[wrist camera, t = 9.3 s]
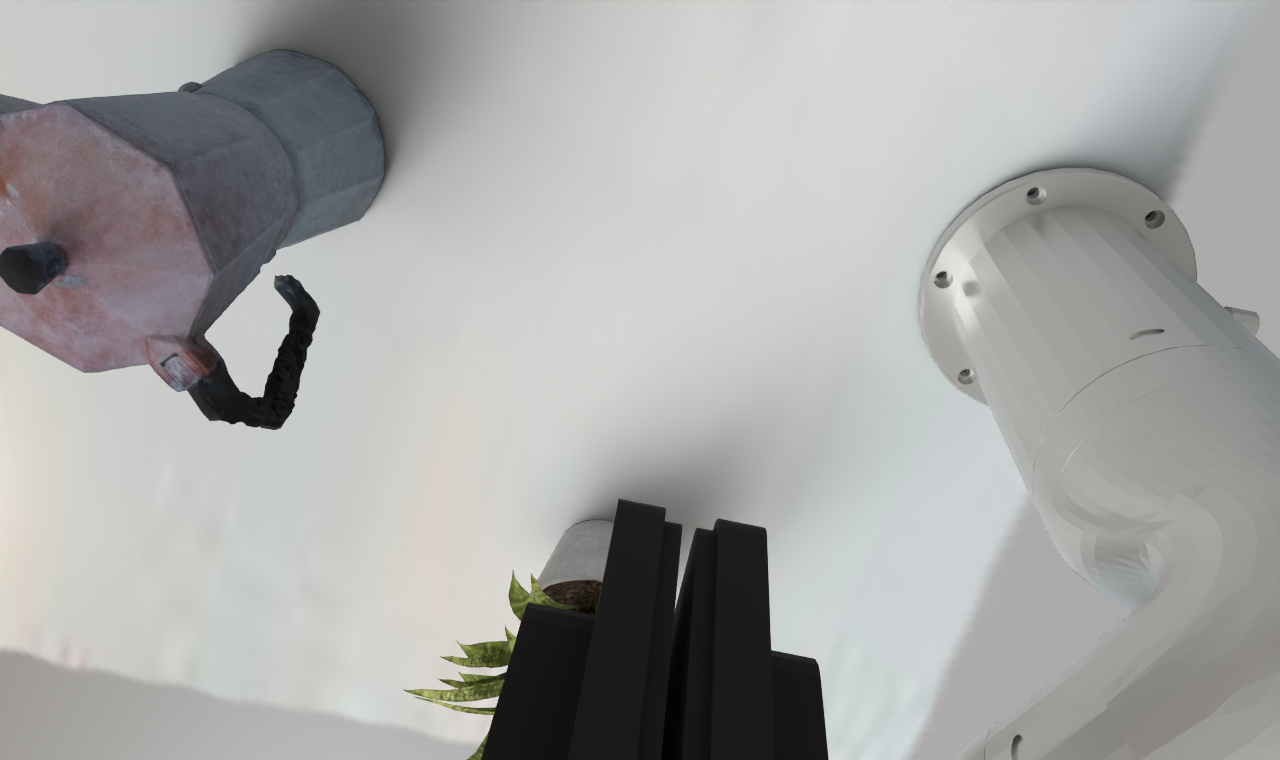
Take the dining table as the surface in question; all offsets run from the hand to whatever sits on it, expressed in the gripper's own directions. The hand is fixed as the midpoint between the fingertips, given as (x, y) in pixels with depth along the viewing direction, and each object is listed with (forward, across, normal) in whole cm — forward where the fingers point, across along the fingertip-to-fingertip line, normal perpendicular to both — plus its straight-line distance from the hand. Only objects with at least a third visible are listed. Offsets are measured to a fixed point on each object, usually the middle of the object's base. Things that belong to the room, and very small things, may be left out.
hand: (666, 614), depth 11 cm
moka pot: (+37, +19, +8) cm, 43 cm away
